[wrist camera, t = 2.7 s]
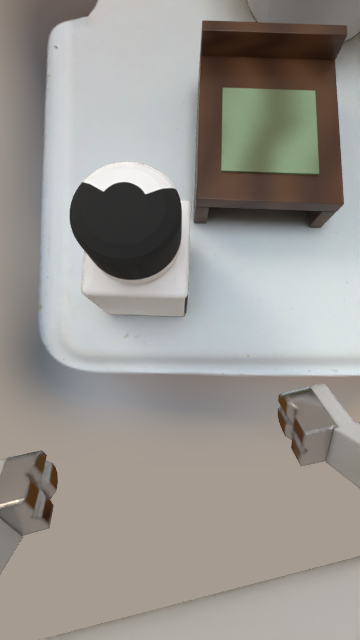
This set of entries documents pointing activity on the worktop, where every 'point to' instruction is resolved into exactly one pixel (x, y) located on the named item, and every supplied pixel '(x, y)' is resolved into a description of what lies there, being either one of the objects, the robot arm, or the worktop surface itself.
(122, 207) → the medicine bottle
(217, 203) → the shelf
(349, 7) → the bowl
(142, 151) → the worktop surface
